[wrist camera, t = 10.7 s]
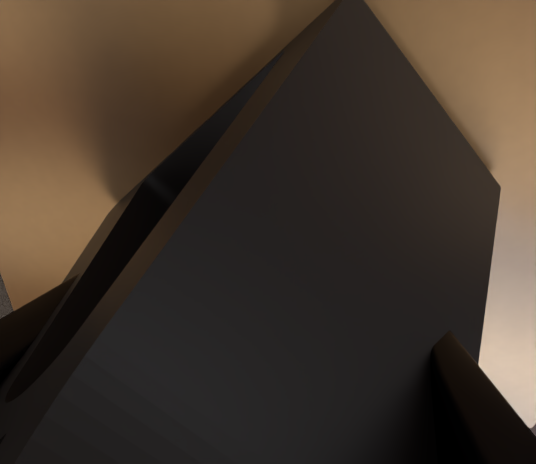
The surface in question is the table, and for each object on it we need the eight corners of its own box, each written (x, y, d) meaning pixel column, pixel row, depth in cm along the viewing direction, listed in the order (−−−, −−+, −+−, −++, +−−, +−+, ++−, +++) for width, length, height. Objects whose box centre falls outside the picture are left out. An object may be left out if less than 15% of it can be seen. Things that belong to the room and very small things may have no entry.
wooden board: (529, 419, 18) (532, 428, 17) (30, 336, 19) (24, 343, 19) (997, -255, 7) (1029, -263, 7) (-192, -319, 9) (-214, -328, 8)
